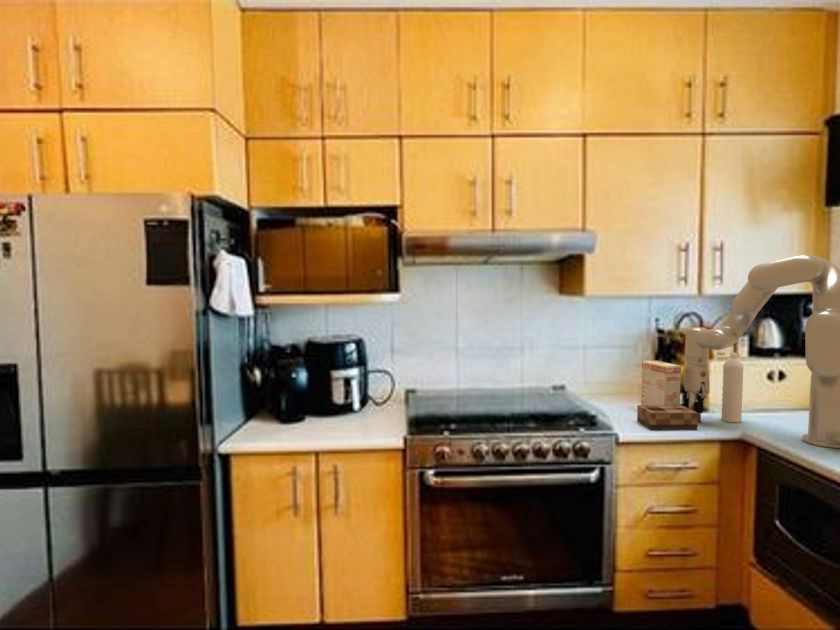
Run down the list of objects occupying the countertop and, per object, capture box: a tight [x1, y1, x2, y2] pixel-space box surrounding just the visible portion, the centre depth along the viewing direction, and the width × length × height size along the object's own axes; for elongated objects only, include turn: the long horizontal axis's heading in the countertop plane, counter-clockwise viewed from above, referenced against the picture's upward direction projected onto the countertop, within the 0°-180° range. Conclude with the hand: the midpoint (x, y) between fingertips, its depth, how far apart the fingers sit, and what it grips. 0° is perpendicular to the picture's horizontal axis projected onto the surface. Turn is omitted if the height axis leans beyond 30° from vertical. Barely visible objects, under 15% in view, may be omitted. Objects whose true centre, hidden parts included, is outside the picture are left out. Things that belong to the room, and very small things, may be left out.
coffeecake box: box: [640, 360, 682, 405], centre depth 222 cm, size 15×7×20 cm, turn 12°
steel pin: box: [689, 391, 702, 424], centre depth 209 cm, size 4×4×12 cm
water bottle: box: [716, 351, 744, 423], centre depth 210 cm, size 9×6×25 cm
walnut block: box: [636, 404, 699, 431], centre depth 203 cm, size 12×16×6 cm
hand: (694, 410), depth 209 cm, fingers closed on steel pin, 4 cm apart
